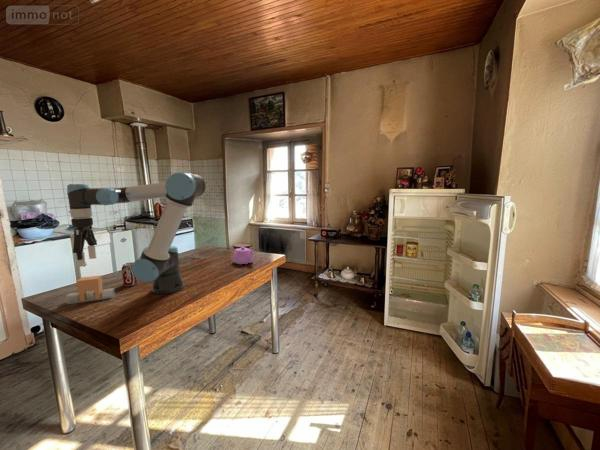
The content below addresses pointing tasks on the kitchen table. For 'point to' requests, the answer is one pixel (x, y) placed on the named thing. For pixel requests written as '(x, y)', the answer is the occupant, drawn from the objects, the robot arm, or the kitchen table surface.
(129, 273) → the soda can
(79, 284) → the upright orange wooden block
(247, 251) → the teapot
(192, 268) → the kitchen table surface
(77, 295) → the grey segmented bar
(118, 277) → the kitchen table surface
